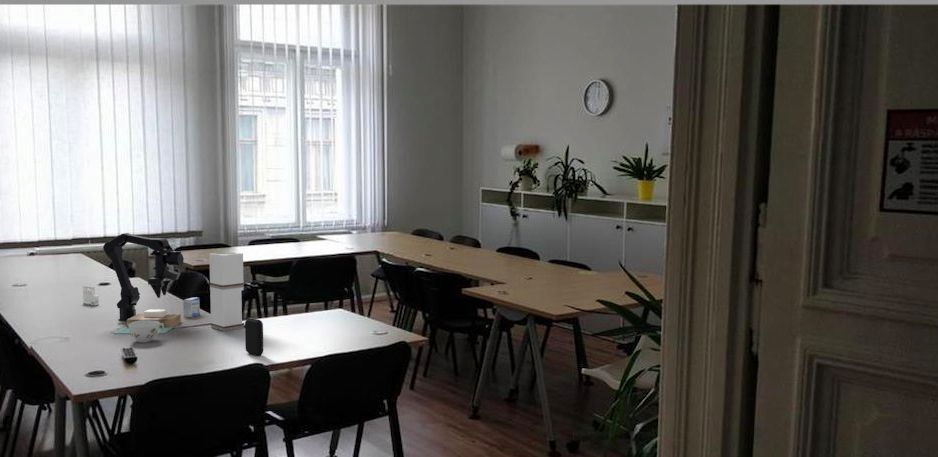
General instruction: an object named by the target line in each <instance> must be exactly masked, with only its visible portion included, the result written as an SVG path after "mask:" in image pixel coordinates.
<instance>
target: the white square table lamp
mask: <svg viewBox="0 0 938 457" xmlns="http://www.w3.org/2000/svg"><path fill="white" fill-rule="evenodd" d="M244 284H245V283H244V253H242V252H237V251H228V254H219V253H212V252H210V253H209V290H210V292H209V293H210V298H209V300H210V327H212V328H213V329H215V328H216V330H218V329H219V330H218V331H222V332H225V331H226V330H227V331H232V329H233V330H239V329H244V325H245V322H243V312H242V311H243V310H242V307H243V303H242V301H243V299H242V296H243V295H242V291H244V290H245V289H244V286H245V285H244ZM238 328H239V329H238ZM227 331H226V332H227Z"/></svg>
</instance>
